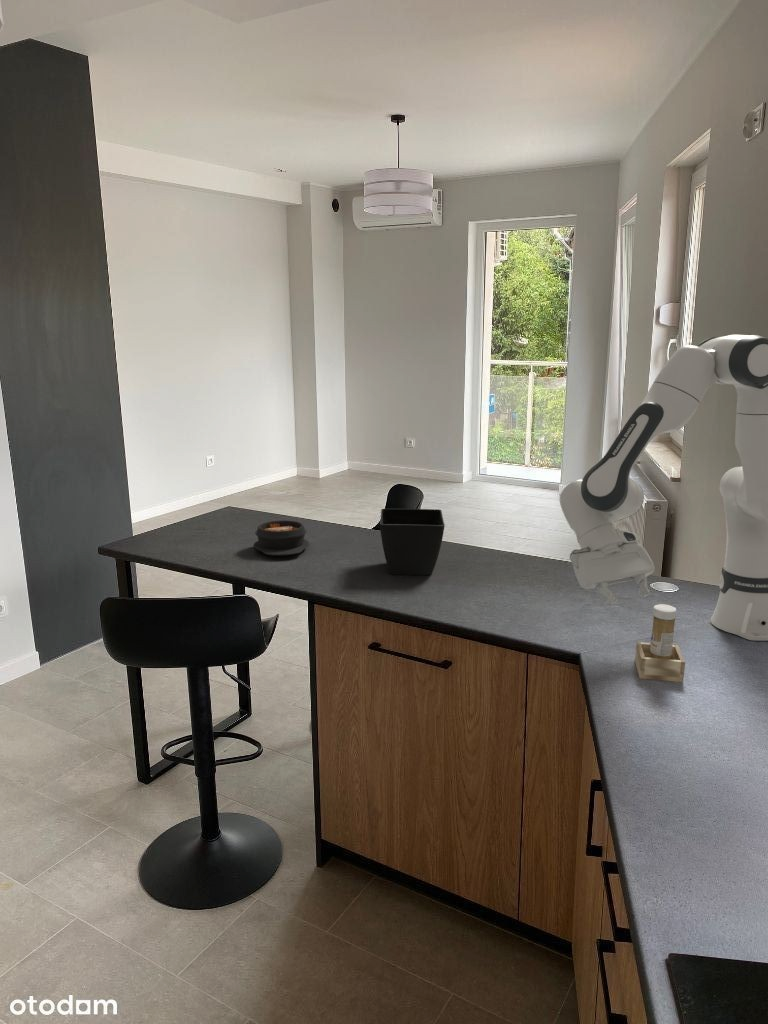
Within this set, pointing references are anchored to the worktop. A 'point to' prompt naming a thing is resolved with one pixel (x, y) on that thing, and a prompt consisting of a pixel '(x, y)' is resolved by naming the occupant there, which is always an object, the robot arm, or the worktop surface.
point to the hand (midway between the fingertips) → (630, 598)
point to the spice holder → (659, 664)
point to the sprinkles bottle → (662, 631)
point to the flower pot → (411, 539)
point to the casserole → (281, 538)
